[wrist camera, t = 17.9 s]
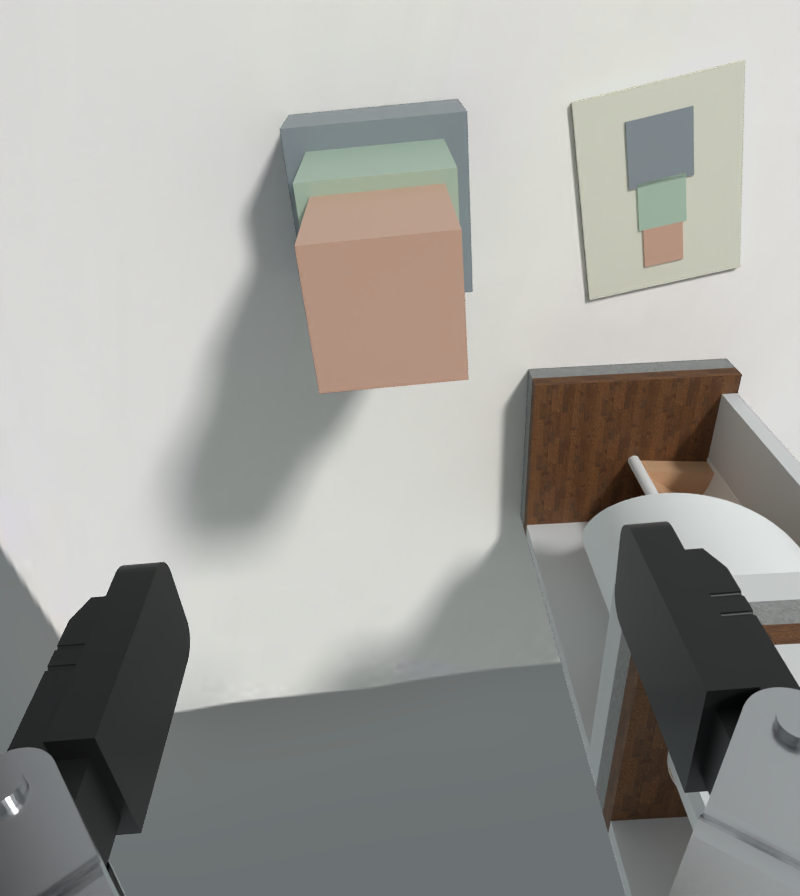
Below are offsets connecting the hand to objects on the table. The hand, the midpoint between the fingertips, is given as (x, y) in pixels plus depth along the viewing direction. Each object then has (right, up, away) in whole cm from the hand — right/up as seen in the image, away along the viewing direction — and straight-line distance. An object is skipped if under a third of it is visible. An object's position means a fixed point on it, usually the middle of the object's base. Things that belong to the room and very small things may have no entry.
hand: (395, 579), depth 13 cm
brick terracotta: (-1, +10, +15) cm, 18 cm away
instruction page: (+13, +15, +24) cm, 31 cm away
